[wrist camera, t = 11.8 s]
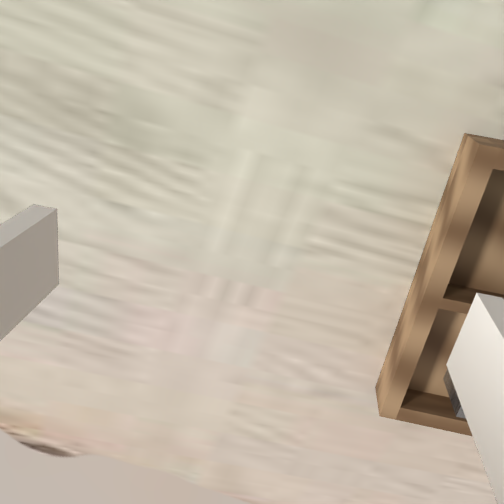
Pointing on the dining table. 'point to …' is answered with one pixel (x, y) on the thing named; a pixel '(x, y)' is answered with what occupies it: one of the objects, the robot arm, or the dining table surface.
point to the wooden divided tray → (447, 288)
